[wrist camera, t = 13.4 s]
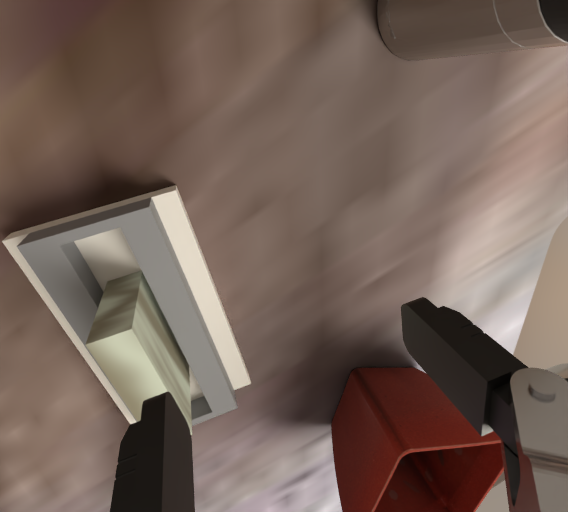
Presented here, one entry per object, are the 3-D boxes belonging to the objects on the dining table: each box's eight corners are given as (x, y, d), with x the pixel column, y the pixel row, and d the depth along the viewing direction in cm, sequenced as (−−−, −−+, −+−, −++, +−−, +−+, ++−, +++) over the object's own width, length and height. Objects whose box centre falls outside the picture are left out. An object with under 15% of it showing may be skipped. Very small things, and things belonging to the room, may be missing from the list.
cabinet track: (176, 184, 35) (176, 198, 31) (248, 373, 49) (255, 401, 44) (10, 232, 33) (-14, 255, 29) (135, 416, 47) (131, 449, 42)
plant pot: (340, 349, 52) (404, 452, 37) (439, 350, 58) (527, 438, 44) (307, 438, 59) (350, 555, 44) (399, 430, 65) (462, 530, 51)
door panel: (142, 270, 36) (131, 328, 27) (188, 363, 43) (192, 434, 34) (107, 281, 35) (85, 344, 27) (160, 374, 42) (156, 448, 34)
